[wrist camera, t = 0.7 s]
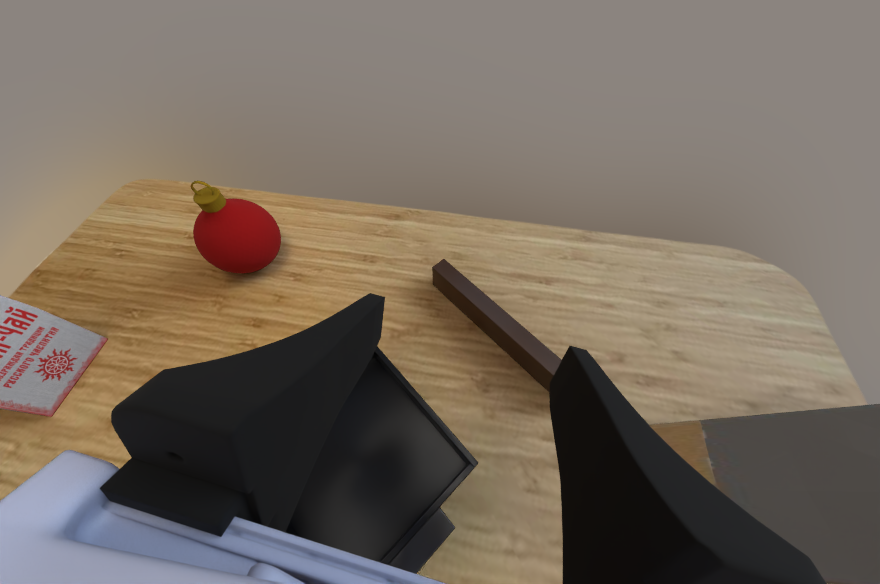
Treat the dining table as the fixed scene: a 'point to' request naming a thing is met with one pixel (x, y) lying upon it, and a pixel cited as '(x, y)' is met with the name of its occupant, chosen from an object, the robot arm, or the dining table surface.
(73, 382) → the grey milk carton
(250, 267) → the christmas ornament
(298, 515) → the roasting tin
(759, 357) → the dining table surface
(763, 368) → the dining table surface
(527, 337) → the back rail
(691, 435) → the sandwich container
